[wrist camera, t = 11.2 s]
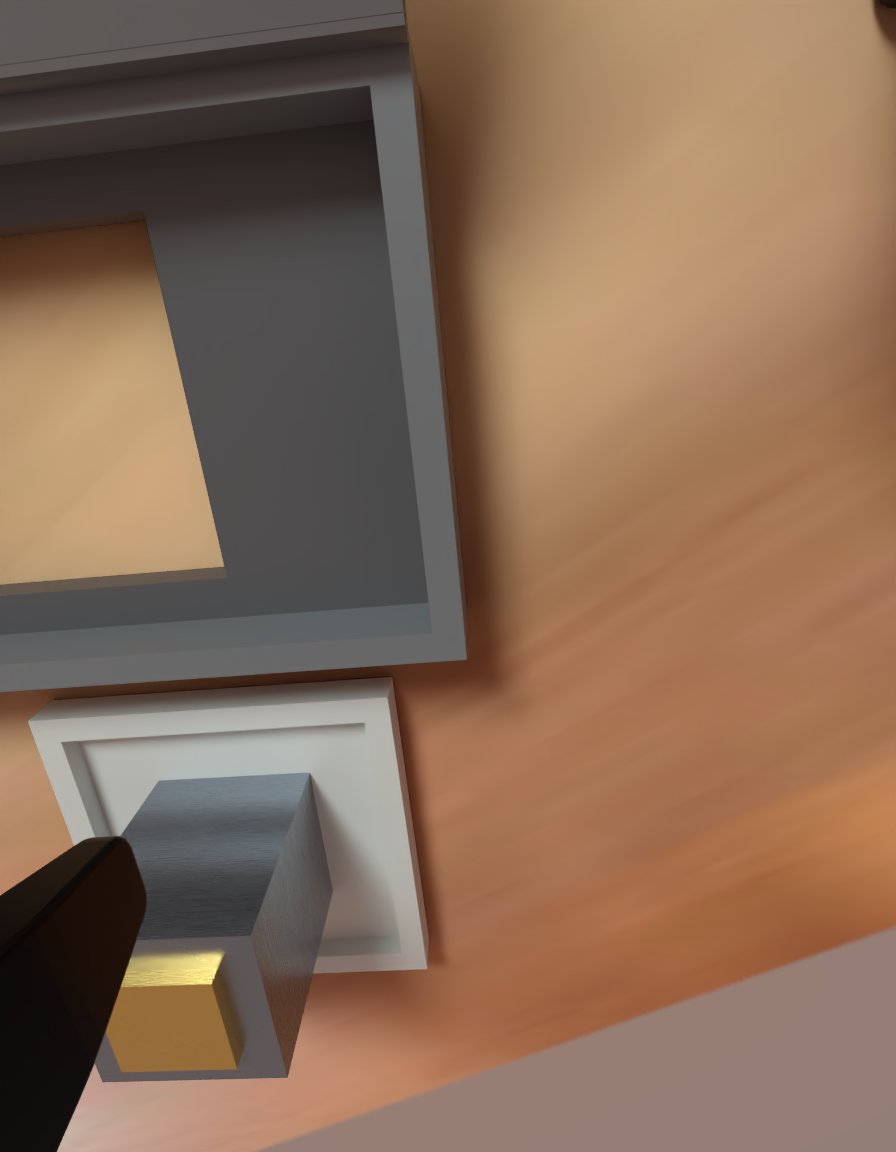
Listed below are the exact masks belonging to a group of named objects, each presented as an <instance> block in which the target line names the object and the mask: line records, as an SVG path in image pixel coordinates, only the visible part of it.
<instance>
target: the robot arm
mask: <svg viewBox="0 0 896 1152" xmlns="http://www.w3.org/2000/svg"><path fill="white" fill-rule="evenodd" d="M880 2H881V3H882V4H884V5H885V6H886V7H888V8H894V9H896V0H880ZM146 907H147V893H146V888H145V885H144V882H143V879H142V876H141V873H140V870H139V867H138V864H137V861H136V858H135V855H134V852H133V850H132V847H131V844H130V842H129V841H128V840H127V839H126V838H124V837H121V836H107V837H92V838H87V839H85V840H83V841H81V842H79V843H78V844H76V845H75V846H73V847H72V848H70V849H69V850H67V851H66V852H64V853H63V854H62V855H60V856H59V857H57V858H56V859H54V860H53V861H51V862H50V863H48V864H47V865H45V866H44V867H42V868H41V869H39V870H38V871H36V872H35V873H33V874H32V875H30V876H29V877H27V878H26V879H24V880H23V881H21V882H20V883H18V884H17V885H15V886H14V887H12V888H11V889H9V890H8V891H6V892H5V893H3V894H2V895H0V1152H57V1150H58V1148H59V1145H60V1143H61V1141H62V1138H63V1136H64V1134H65V1131H66V1129H67V1127H68V1125H69V1122H70V1120H71V1118H72V1115H73V1113H74V1111H75V1109H76V1106H77V1104H78V1102H79V1099H80V1097H81V1095H82V1092H83V1090H84V1088H85V1085H86V1083H87V1080H88V1078H89V1076H90V1073H91V1071H92V1068H93V1066H94V1063H95V1060H96V1058H97V1055H98V1052H99V1049H100V1047H101V1044H102V1041H103V1038H104V1035H105V1032H106V1030H107V1027H108V1024H109V1021H110V1018H111V1015H112V1012H113V1009H114V1006H115V1003H116V1000H117V997H118V994H119V991H120V988H121V985H122V982H123V979H124V976H125V973H126V970H127V967H128V964H129V961H130V958H131V955H132V952H133V949H134V947H135V944H136V941H137V938H138V935H139V932H140V929H141V926H142V923H143V920H144V917H145V913H146Z"/></svg>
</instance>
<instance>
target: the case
mask: <svg viewBox="0 0 896 1152" xmlns="http://www.w3.org/2000/svg"><path fill="white" fill-rule="evenodd" d="M142 220H145V221H146V225H147V230H148V234H149V238H150V243H151V247H152V251H153V256H154V260H155V265H156V269H157V273H158V278H159V282H160V286H161V291H162V295H163V299H164V304H165V308H166V313H167V317H168V321H169V326H170V330H171V334H172V339H173V343H174V348H175V352H176V356H177V361H178V365H179V369H180V374H181V378H182V383H183V387H184V391H185V396H186V400H187V404H188V409H189V413H190V417H191V422H192V426H193V431H194V435H195V439H196V444H197V448H198V452H199V457H200V461H201V466H202V470H203V474H204V479H205V483H206V487H207V492H208V496H209V501H210V505H211V509H212V514H213V518H214V522H215V527H216V531H217V536H218V540H219V544H220V549H221V553H222V557H223V562H224V566H225V567H217V568H204V569H192V570H179V571H167V572H154V573H142V574H130V575H117V576H105V577H92V578H80V579H67V580H55V581H43V582H30V583H18V584H5V585H0V692H12V691H26V690H41V689H55V688H69V687H84V686H98V685H112V684H127V683H141V682H156V681H170V680H184V679H199V678H213V677H227V676H242V675H256V674H271V673H285V672H299V671H314V670H328V669H342V668H357V667H371V666H385V665H400V664H414V663H429V662H443V661H457V660H467V604H466V593H465V582H464V571H463V560H462V549H461V538H460V527H459V516H458V506H457V495H456V484H455V473H454V462H453V451H452V440H451V429H450V418H449V407H448V396H447V386H446V375H445V364H444V353H443V342H442V331H441V320H440V309H439V298H438V287H437V276H436V265H435V255H434V244H433V233H432V222H431V211H430V200H429V189H428V178H427V167H426V156H425V145H424V135H423V124H422V113H421V102H420V91H419V83H418V79H417V74H416V69H415V64H414V59H413V54H412V49H411V44H410V39H409V34H408V26H407V15H406V5H405V0H0V237H3V236H12V235H21V234H29V233H38V232H47V231H55V230H64V229H73V228H81V227H90V226H99V225H107V224H116V223H125V222H133V221H142Z"/></svg>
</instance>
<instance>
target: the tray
mask: <svg viewBox="0 0 896 1152" xmlns="http://www.w3.org/2000/svg"><path fill="white" fill-rule="evenodd" d="M28 724H29V726H30V729H31V732H32V734H33V737H34V740H35V742H36V745H37V748H38V750H39V753H40V756H41V758H42V761H43V764H44V766H45V769H46V772H47V774H48V777H49V780H50V782H51V785H52V788H53V790H54V793H55V796H56V798H57V801H58V804H59V806H60V809H61V812H62V814H63V817H64V820H65V822H66V825H67V828H68V830H69V833H70V836H71V838H72V841H73V844H74V846H75V845H76V844H78V843H79V842H81V841H83V840H85V839H87V838H92V837H107V836H121V834H122V833H123V831H124V830H125V828H126V827H127V826H128V824H129V823H130V821H131V820H132V818H133V817H134V815H135V814H136V813H137V811H138V810H139V808H140V807H141V805H142V804H143V803H144V801H145V800H146V798H147V797H148V795H149V794H150V792H151V791H152V790H153V788H154V787H155V785H156V784H157V782H158V781H160V780H178V779H197V778H216V777H234V776H253V775H272V774H291V773H309V772H310V776H311V781H312V787H313V792H314V797H315V802H316V807H317V812H318V817H319V822H320V828H321V833H322V838H323V843H324V848H325V853H326V858H327V863H328V869H329V874H330V879H331V884H332V889H333V893H332V897H331V901H330V906H329V910H328V914H327V918H326V922H325V926H324V930H323V934H322V938H321V942H320V946H319V951H318V955H317V959H316V963H315V967H314V971H313V974H317V973H342V972H367V971H392V970H417V969H427V964H428V949H429V934H428V927H427V920H426V913H425V906H424V899H423V892H422V885H421V878H420V871H419V864H418V857H417V850H416V843H415V835H414V828H413V821H412V814H411V807H410V800H409V793H408V786H407V779H406V772H405V765H404V758H403V751H402V744H401V736H400V729H399V722H398V715H397V708H396V701H395V694H394V687H393V680H392V677H384V678H369V679H354V680H340V681H325V682H310V683H296V684H281V685H267V686H252V687H237V688H223V689H208V690H194V691H179V692H164V693H150V694H135V695H121V696H106V697H91V698H77V699H62V700H51V701H50V702H49V703H48V704H47V705H46V706H44V707H43V708H42V709H41V710H40V711H39V712H38V713H37V714H35V715H34V716H33V717H32V718H31V719H30V720H29V721H28Z"/></svg>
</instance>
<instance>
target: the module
mask: <svg viewBox="0 0 896 1152" xmlns="http://www.w3.org/2000/svg"><path fill="white" fill-rule="evenodd" d="M121 837H124V838H126V839H127V840H128V841H129V842H130V844H131V847H132V850H133V852H134V855H135V858H136V861H137V864H138V867H139V870H140V873H141V876H142V879H143V882H144V885H145V888H146V893H147V907H146V913H145V917H144V920H143V923H142V926H141V929H140V932H139V935H138V938H137V941H136V944H135V947H134V949H133V952H132V955H131V958H130V961H129V964H128V967H127V970H126V973H125V976H124V979H123V982H122V985H121V988H120V991H119V994H118V997H117V1000H116V1003H115V1006H114V1009H113V1012H112V1015H111V1018H110V1021H109V1024H108V1027H107V1030H106V1032H105V1035H104V1038H103V1041H102V1044H101V1047H100V1049H99V1052H98V1055H97V1058H96V1060H95V1065H96V1067H97V1070H98V1072H99V1074H100V1077H101V1079H102V1082H129V1081H169V1080H209V1079H249V1078H288V1074H289V1069H290V1065H291V1061H292V1057H293V1053H294V1049H295V1045H296V1041H297V1037H298V1033H299V1028H300V1024H301V1020H302V1016H303V1012H304V1008H305V1004H306V1000H307V996H308V992H309V987H310V983H311V979H312V975H313V971H314V967H315V963H316V959H317V955H318V951H319V946H320V942H321V938H322V934H323V930H324V926H325V922H326V918H327V914H328V910H329V906H330V901H331V897H332V893H333V889H332V884H331V879H330V874H329V869H328V863H327V858H326V853H325V848H324V843H323V838H322V833H321V828H320V822H319V817H318V812H317V807H316V802H315V797H314V792H313V787H312V781H311V776H310V772H309V773H291V774H272V775H253V776H234V777H216V778H197V779H178V780H160V781H158V782H157V784H156V785H155V787H154V788H153V790H152V791H151V792H150V794H149V795H148V797H147V798H146V800H145V801H144V803H143V804H142V805H141V807H140V808H139V810H138V811H137V813H136V814H135V815H134V817H133V818H132V820H131V821H130V823H129V824H128V826H127V827H126V828H125V830H124V831H123V833H122V834H121Z"/></svg>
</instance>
